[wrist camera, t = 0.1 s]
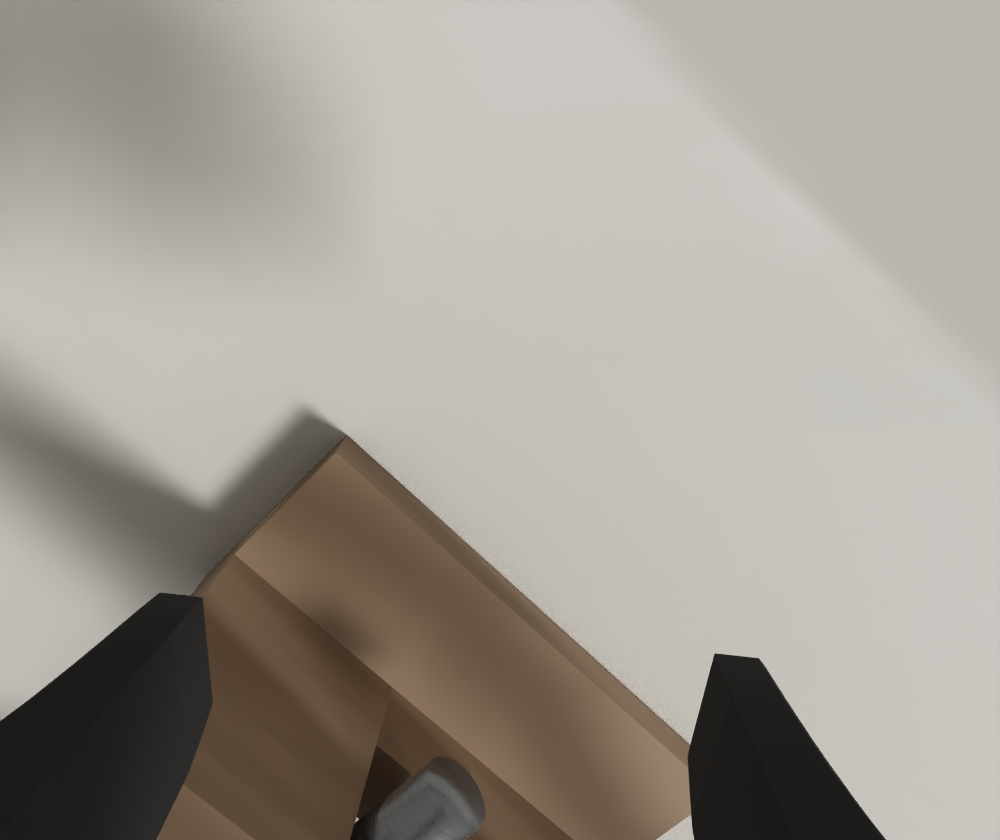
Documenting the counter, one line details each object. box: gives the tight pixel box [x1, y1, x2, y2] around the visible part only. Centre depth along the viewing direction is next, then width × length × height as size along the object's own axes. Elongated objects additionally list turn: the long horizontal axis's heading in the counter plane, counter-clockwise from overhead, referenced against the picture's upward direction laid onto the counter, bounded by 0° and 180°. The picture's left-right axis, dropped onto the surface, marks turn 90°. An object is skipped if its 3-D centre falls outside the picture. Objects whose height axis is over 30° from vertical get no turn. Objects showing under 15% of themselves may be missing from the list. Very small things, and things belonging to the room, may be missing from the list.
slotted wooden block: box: [156, 436, 691, 840], centre depth 21 cm, size 6×14×8 cm, turn 46°
